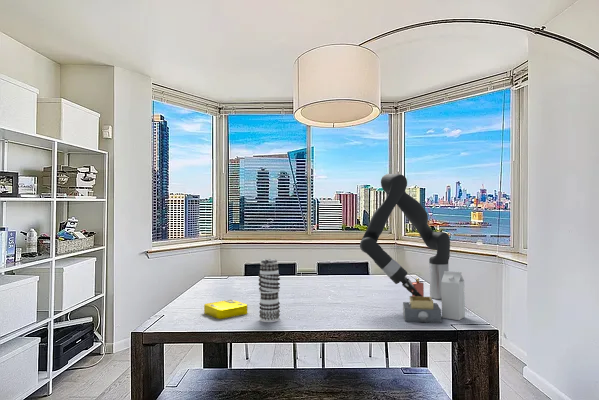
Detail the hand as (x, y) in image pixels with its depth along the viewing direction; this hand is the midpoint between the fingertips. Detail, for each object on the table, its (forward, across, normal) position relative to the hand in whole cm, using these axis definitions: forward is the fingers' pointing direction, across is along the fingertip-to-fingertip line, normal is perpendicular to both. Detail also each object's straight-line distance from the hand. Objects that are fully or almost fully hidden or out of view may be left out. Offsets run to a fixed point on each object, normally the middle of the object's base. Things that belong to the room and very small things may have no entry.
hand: (421, 297), depth 183 cm
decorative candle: (-41, -25, +49) cm, 68 cm away
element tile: (-56, -18, +65) cm, 88 cm away
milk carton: (+12, -11, -4) cm, 17 cm away
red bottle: (+3, 0, +5) cm, 6 cm away
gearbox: (+3, -14, +5) cm, 15 cm away
